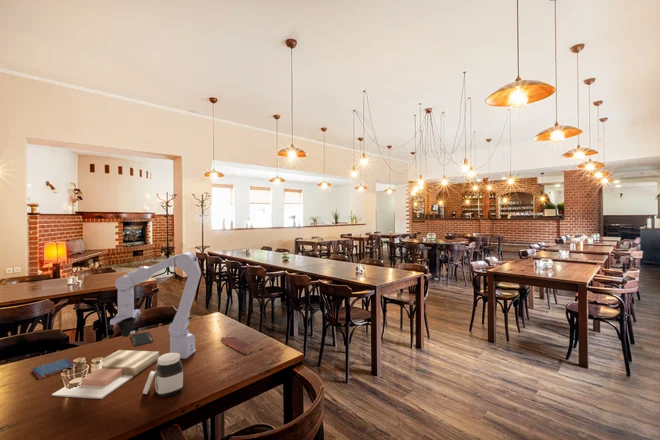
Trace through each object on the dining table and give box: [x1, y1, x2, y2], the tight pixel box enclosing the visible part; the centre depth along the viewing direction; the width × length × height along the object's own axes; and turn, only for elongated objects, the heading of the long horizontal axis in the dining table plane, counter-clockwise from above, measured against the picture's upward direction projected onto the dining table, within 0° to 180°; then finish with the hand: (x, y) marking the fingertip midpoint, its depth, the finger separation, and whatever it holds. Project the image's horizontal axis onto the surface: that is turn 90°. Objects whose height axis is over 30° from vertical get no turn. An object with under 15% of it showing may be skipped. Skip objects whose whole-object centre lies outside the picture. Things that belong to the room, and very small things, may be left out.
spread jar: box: [142, 352, 184, 397], centre depth 105 cm, size 12×11×12 cm
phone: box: [130, 331, 154, 347], centre depth 151 cm, size 8×1×15 cm
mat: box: [51, 372, 134, 400], centre depth 109 cm, size 18×14×1 cm
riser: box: [102, 349, 160, 377], centre depth 124 cm, size 18×14×3 cm
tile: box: [81, 368, 123, 386], centre depth 112 cm, size 9×8×2 cm
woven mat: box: [31, 358, 74, 380], centre depth 120 cm, size 10×11×2 cm
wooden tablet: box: [220, 336, 252, 354], centre depth 145 cm, size 27×10×2 cm, turn 48°
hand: (126, 336), depth 130 cm, fingers closed
